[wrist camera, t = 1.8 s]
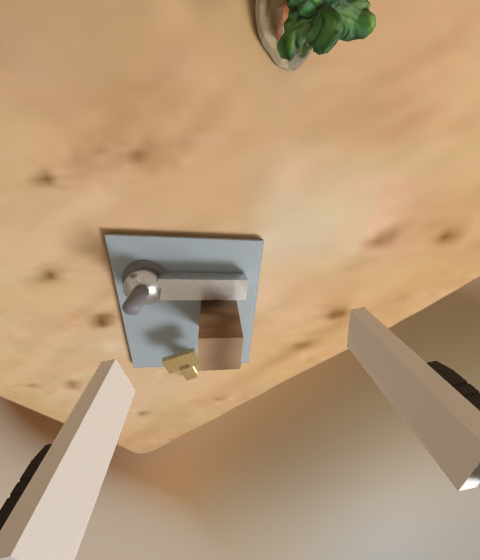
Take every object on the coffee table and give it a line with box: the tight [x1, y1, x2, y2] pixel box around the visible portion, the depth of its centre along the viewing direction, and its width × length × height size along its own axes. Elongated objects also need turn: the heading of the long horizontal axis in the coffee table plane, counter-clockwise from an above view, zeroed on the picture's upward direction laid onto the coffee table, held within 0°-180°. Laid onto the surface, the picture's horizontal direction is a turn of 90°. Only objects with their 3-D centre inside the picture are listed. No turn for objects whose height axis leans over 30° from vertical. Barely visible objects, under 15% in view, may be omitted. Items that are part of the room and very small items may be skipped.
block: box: [198, 300, 243, 371], centre depth 28 cm, size 5×5×8 cm
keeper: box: [162, 348, 199, 380], centre depth 33 cm, size 5×5×4 cm
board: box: [105, 233, 264, 368], centre depth 28 cm, size 19×22×7 cm
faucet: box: [123, 267, 248, 305], centre depth 27 cm, size 15×4×2 cm, turn 86°
